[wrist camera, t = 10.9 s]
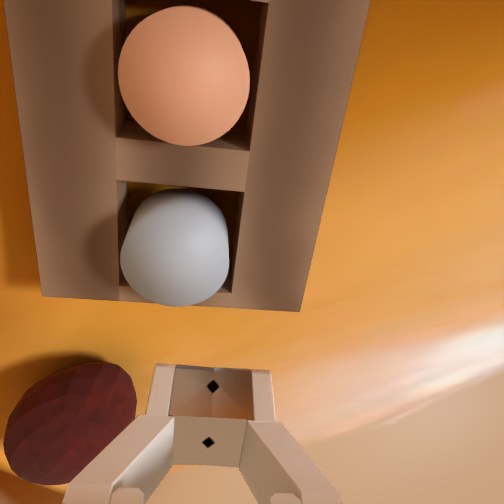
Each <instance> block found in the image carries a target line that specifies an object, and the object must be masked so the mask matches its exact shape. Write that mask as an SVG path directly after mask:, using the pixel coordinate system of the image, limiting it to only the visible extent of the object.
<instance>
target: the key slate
mask: <svg viewBox="0 0 504 504" xmlns="http://www.w3.org/2000/svg"><path fill="white" fill-rule="evenodd" d="M120 263H121V269H122V272H123V274H124V277H125V279H126V280H127V282H128V283H129V285H130V286H131V287H132V288H133V289H134V290H135V291H136V292H137V293H138V294H140V295H141V296H142V297H144V298H146V299H148V300H150V301H152V302H154V303H157V304H161V305H165V306H173V307H181V306H189V305H193V304H197V303H199V302H202V301H204V300H206V299H208V298H209V297H211V296H212V295H213V294H215V293H216V292H217V291H218V290H219V289H220V287H221V286H222V285H223V283H224V281H225V279H226V277H227V274H228V269H229V247H228V228H227V223H226V220H225V217H224V215H223V213H222V212H221V210H220V209H219V208H218V206H217V205H216V204H215V203H214V202H213V201H212V200H210V199H209V198H207V197H206V196H204V195H202V194H200V193H198V192H195V191H192V190H187V189H167V190H163V191H160V192H157V193H155V194H153V195H151V196H149V197H148V198H147V199H145V200H144V201H143V202H142V203H141V204H140V205H139V207H138V208H137V210H136V211H135V213H134V216H133V218H132V221H131V224H130V227H129V229H128V232H127V235H126V237H125V240H124V243H123V246H122V249H121V253H120Z"/></svg>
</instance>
